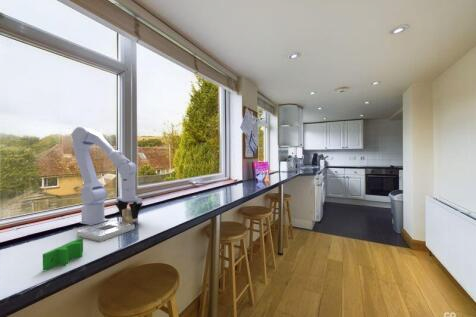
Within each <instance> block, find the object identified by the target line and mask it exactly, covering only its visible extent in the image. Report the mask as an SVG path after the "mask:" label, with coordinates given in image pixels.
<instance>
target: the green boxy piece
mask: <svg viewBox="0 0 476 317" xmlns="http://www.w3.org/2000/svg"><path fill="white" fill-rule="evenodd" d="M83 253H84V238H82V237H79V238H77V239H74V240H72V241H69V242H67V243H64V244H63V245H61V246H58V247H56V248H54V249H51V250H49V251H46V252H44V253H42V271H43V270H47V271H49V270H51V269H53V268H55V267H56V265H57V266H67V265H66V264H68V263H69V261H71V260H73V259H79V258H80V259H81V258H82V257H83ZM69 264H70V263H69ZM69 264H68V265H69ZM54 266H55V267H54Z"/></svg>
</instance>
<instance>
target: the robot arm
mask: <svg viewBox="0 0 476 317" xmlns="http://www.w3.org/2000/svg"><path fill="white" fill-rule="evenodd" d="M70 135H71V138H72V150H73V154H74V156H75V160H76V163H77V166H78V170H79V172H80V175H81V180H82V181H83V185H82V187H81V188H80V193H81V195H80V200H81V201H82V203H83V205H82V207H81V216H80V217H81V221H82V222H81V221H79V222H80V223H79V224H82V225H89V226H95V225H99V224H102V223H106V222H109V221H110V219H109V218H105V217H106V216H105V215H106V214H105V201H106V199H107V198H108V195H109V194H108V190H107V189H106V188H105V186H104V184H103V183H102V182H100V181H99V179H98V176H97V173H96V170H95V167H94V163H93V160H92V157H91V155H90V154H91V153H90V151H89V150H90V148H92V147H93V146H94V145H95V144H96V146H98V147H99V148H100V149H101V150H102V151H103V152H104V153H106V154H107V155H108V157H107V158H108V160H109V161H110V162H111V163H112V165H114V166H115V167H116V168H117V172H118V173H119V175H120V180H121V184H120V186H121V190H120V191H121V196H117V197H115V198H116V200H115V201H116V202H115V203H114V205H115V206H116V208H117V210H118V212H119V214H120V217H121V218H122V210H123V209H127V208H128V206H129V208H131V212H132V219H136V220H137V219H138V217H139V213H140V210H141V208H142V206H143V201H142V200H143V198H140V197H138V196H136V193H137V192H136V173H137V172H138V166H137V164H136V163H135V162H134V161H133V162H132V161H131V160H130V159H129V158H127V157H126V156H125V155H124V152H123V151H120V150H116V149H114V148H113V146H112V145H111V144H110V143H109V142H108V141H107V139H106V138H105V137H104V135H103V134H102V133H101V132H100V131H99V130H98V129H93V128H88V127H87V128H86V127H84V126H78V127H76V128H74V129H73V130H72V133H71V134H70ZM129 203H130V204H129Z"/></svg>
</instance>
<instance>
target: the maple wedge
mask: <svg viewBox="0 0 476 317" xmlns="http://www.w3.org/2000/svg"><path fill="white" fill-rule="evenodd" d="M121 220H122V221H121V222H124V223H130V224H133V223H135V222H137V218H136V219H132V212H131V208H130V207H127V209H123V210H122V217H121Z"/></svg>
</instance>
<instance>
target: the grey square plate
mask: <svg viewBox="0 0 476 317" xmlns="http://www.w3.org/2000/svg"><path fill="white" fill-rule="evenodd" d="M133 230H135V224H134V223H124V222H122V221H116V220H108V221H105V222H102V223H98V224H95V225H91V226H90V227H86V228H83V229H79V230H77V231H76V237H79V238H83V239H88V240H91V241H95V242H100V243H101V242H103V241H106V240H109V239H112V238H114V237H117V236H119V235H123V234H125V233H128V232H131V231H133Z"/></svg>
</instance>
